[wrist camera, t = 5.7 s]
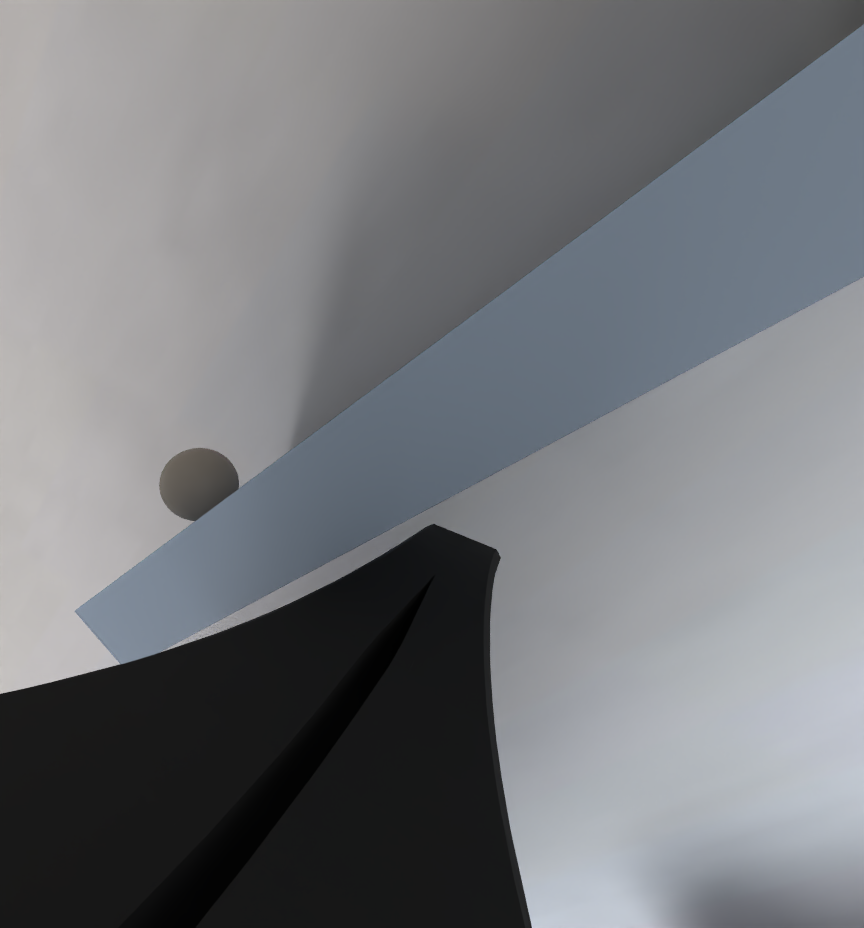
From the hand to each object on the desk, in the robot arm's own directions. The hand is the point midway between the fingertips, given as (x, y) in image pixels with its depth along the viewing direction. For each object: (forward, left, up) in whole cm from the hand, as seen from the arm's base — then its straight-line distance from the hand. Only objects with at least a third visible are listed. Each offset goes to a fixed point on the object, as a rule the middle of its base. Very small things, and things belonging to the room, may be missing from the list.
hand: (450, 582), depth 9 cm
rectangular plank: (+2, +3, -2) cm, 4 cm away
